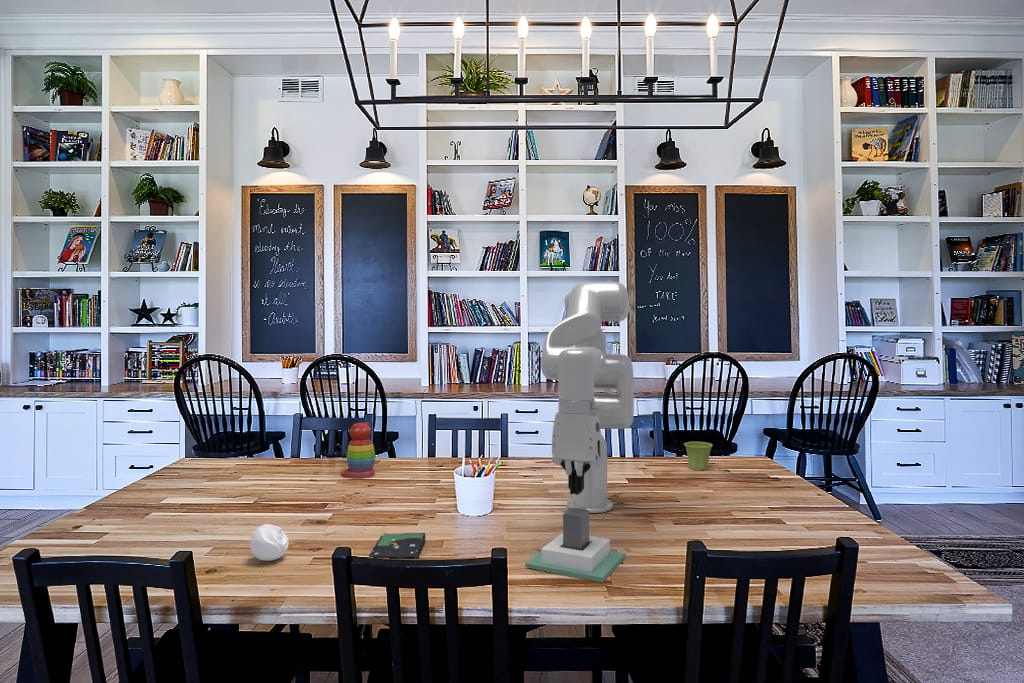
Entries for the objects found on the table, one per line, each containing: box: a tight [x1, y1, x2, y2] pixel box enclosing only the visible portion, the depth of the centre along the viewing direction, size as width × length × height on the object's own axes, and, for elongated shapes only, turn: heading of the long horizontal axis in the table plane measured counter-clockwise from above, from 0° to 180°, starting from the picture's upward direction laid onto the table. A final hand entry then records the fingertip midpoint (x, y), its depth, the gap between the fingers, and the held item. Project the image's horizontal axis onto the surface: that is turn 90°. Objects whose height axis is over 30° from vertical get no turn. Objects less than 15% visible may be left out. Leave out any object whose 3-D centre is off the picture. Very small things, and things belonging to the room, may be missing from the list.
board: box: [524, 532, 626, 584], centre depth 138 cm, size 15×17×4 cm
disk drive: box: [368, 532, 426, 559], centre depth 144 cm, size 10×3×15 cm
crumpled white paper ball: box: [249, 523, 290, 562], centre depth 140 cm, size 8×8×8 cm
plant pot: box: [683, 441, 713, 472], centre depth 224 cm, size 9×9×9 cm
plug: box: [562, 507, 590, 551], centre depth 138 cm, size 6×4×10 cm, turn 153°
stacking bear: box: [340, 422, 376, 480], centre depth 216 cm, size 11×10×18 cm
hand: (576, 492), depth 137 cm, fingers closed
